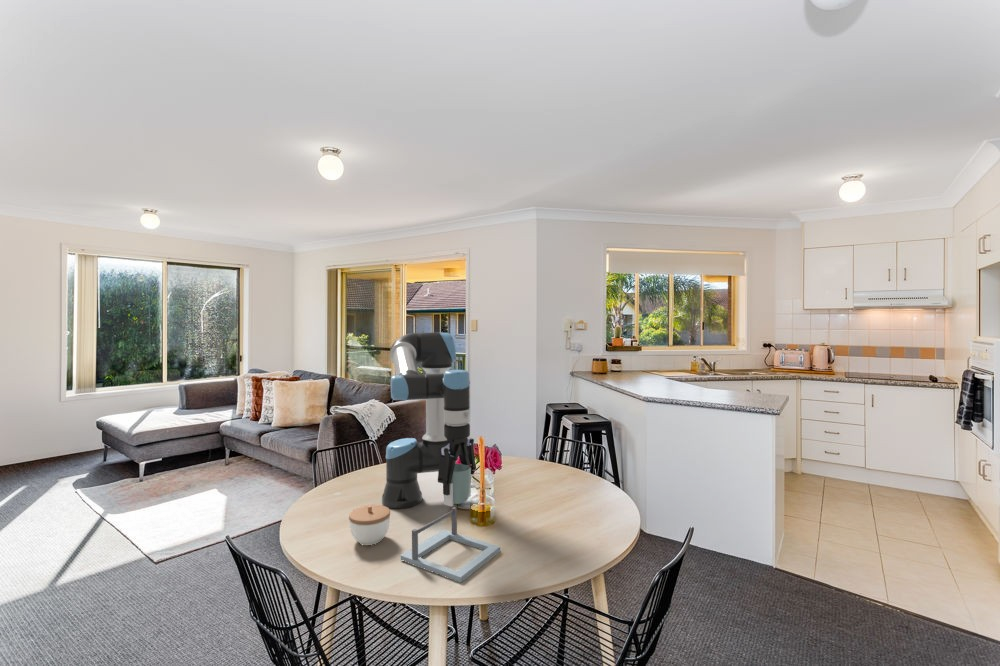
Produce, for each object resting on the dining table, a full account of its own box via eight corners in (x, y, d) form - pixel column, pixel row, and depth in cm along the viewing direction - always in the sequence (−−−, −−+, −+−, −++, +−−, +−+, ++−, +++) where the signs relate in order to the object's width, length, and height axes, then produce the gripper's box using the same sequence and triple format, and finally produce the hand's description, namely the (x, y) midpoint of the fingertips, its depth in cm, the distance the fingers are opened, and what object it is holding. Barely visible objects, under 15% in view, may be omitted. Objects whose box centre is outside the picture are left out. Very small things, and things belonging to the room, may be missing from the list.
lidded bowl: (369, 554, 146) (368, 518, 145) (341, 543, 152) (340, 509, 152) (398, 537, 156) (398, 503, 156) (371, 528, 163) (370, 496, 162)
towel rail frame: (400, 560, 142) (400, 526, 141) (443, 533, 159) (443, 503, 158) (460, 582, 130) (460, 546, 130) (500, 551, 147) (500, 519, 146)
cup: (466, 507, 137) (466, 472, 137) (440, 505, 139) (440, 470, 139) (473, 497, 145) (473, 464, 145) (449, 495, 147) (448, 462, 146)
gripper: (444, 432, 130) (445, 515, 131) (487, 418, 148) (487, 491, 149) (423, 428, 134) (424, 509, 135) (467, 415, 152) (468, 487, 153)
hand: (457, 500), depth 142 cm, fingers closed on cup, 8 cm apart
